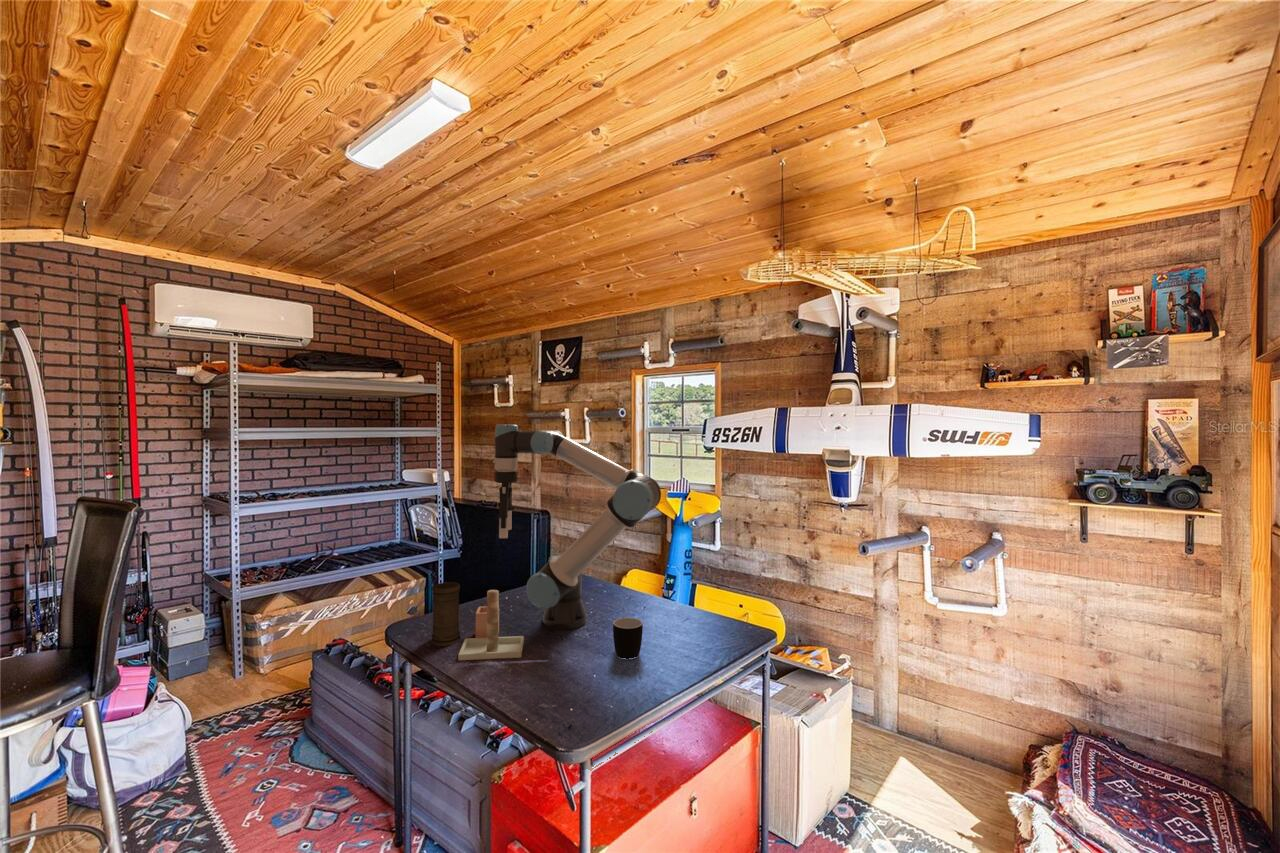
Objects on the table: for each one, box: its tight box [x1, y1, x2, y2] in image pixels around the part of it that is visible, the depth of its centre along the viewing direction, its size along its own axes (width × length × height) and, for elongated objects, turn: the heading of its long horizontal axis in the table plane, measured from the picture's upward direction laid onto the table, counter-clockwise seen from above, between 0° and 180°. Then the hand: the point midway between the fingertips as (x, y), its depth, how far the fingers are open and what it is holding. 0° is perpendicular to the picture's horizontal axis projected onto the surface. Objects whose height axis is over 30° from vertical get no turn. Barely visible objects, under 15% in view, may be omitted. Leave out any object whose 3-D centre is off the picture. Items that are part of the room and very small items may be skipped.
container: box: [430, 581, 462, 647], centre depth 177 cm, size 9×9×18 cm
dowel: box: [486, 589, 500, 652], centre depth 169 cm, size 3×3×18 cm
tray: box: [457, 635, 525, 661], centre depth 169 cm, size 18×12×2 cm, turn 98°
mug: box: [612, 617, 644, 659], centre depth 169 cm, size 12×9×10 cm
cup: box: [475, 605, 500, 638], centre depth 181 cm, size 7×7×9 cm
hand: (505, 533), depth 186 cm, fingers open, 13 cm apart
